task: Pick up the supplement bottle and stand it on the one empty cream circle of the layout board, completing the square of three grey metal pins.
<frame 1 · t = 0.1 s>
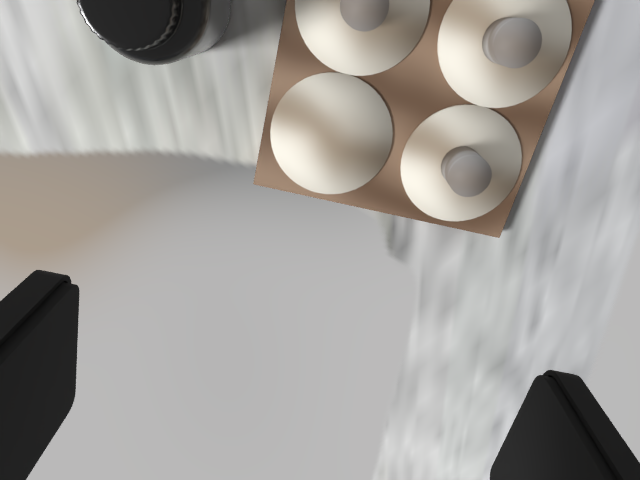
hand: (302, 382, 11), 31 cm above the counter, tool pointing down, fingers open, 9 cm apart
supplement bottle: (184, 2, 36), on the counter
layout board: (411, 87, 38), on the counter
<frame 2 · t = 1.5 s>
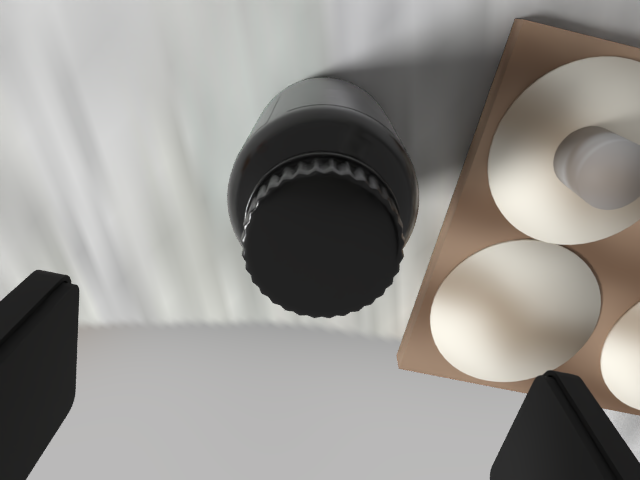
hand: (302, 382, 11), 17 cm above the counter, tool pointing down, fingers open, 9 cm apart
supplement bottle: (324, 144, 26), on the counter
layout board: (626, 250, 28), on the counter
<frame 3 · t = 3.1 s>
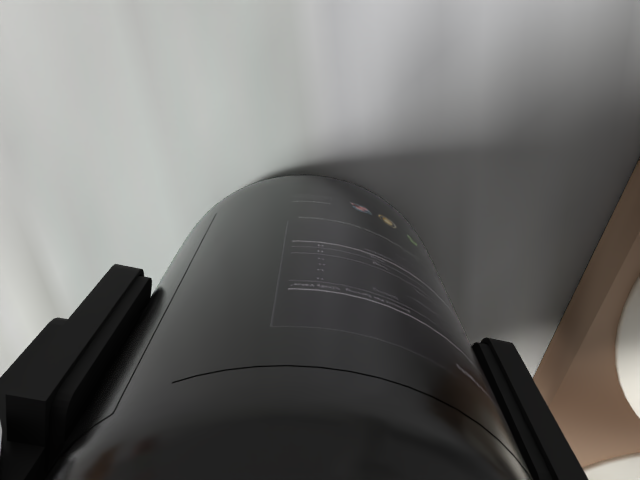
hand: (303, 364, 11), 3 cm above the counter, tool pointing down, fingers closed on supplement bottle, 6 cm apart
supplement bottle: (307, 284, 14), on the counter, touching gripper
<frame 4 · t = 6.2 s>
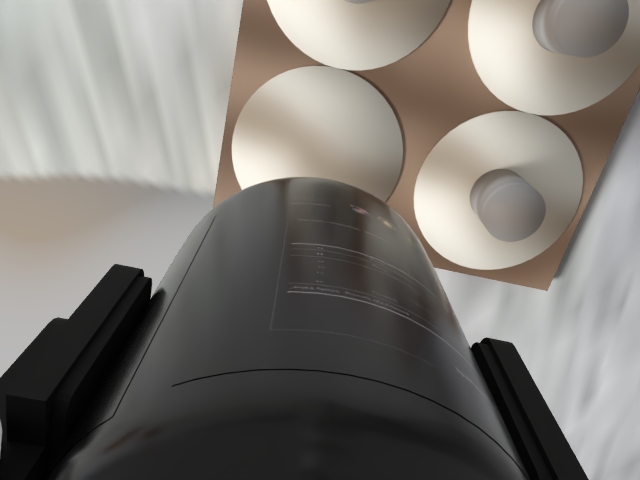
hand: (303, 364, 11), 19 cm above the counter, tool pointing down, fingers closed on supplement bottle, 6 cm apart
supplement bottle: (307, 285, 14), point 16 cm above the counter, touching gripper
layout board: (429, 87, 27), on the counter
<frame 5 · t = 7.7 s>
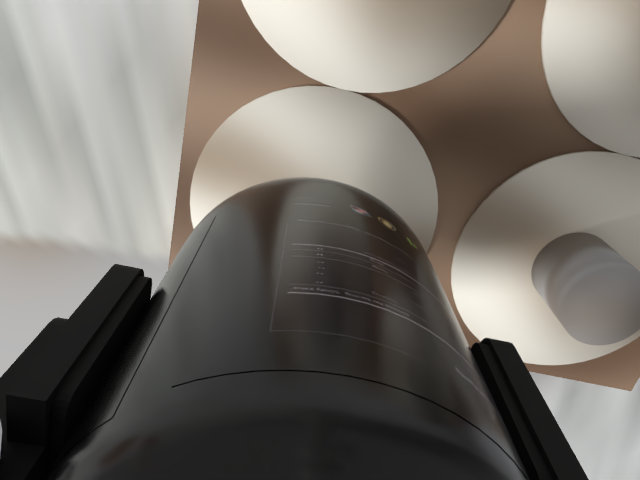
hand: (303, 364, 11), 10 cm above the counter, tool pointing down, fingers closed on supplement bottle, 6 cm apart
supplement bottle: (307, 286, 14), point 7 cm above the counter, touching gripper
layout board: (476, 115, 19), on the counter
when the fingers open (6 cm above the counter, at t = 9.1 s): supplement bottle drops 1 cm, resting on layout board.
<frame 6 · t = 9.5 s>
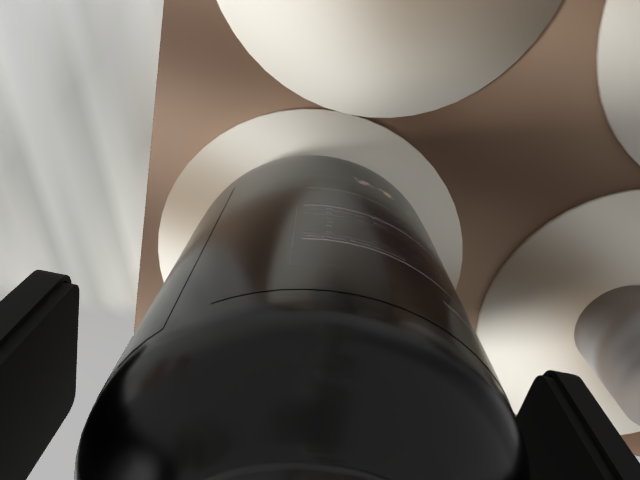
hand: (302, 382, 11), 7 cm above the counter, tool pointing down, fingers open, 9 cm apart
supplement bottle: (314, 257, 16), point 1 cm above the counter, touching layout board
layout board: (509, 142, 15), on the counter
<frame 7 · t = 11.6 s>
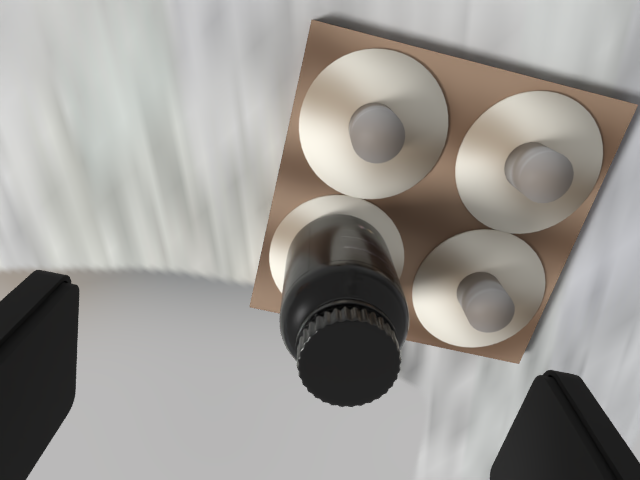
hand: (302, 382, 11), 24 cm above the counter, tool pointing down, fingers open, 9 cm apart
supplement bottle: (338, 257, 35), point 1 cm above the counter, touching layout board
layout board: (425, 207, 35), on the counter
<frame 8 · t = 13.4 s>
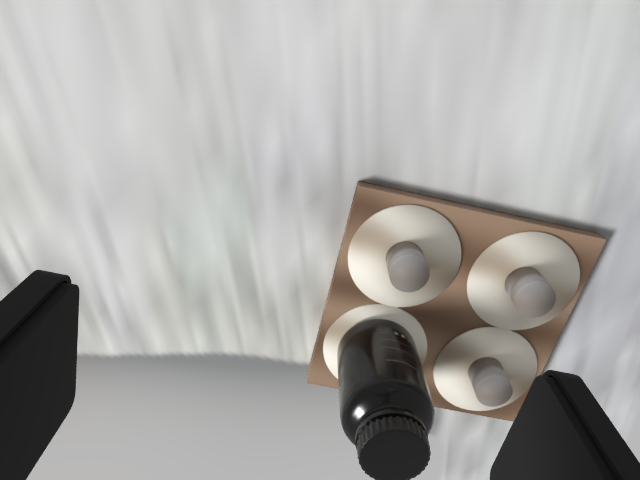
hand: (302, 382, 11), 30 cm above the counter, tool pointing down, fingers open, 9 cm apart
supplement bottle: (376, 347, 45), point 1 cm above the counter, touching layout board
layout board: (443, 308, 45), on the counter
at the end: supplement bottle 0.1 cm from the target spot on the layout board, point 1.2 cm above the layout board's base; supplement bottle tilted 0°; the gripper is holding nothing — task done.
